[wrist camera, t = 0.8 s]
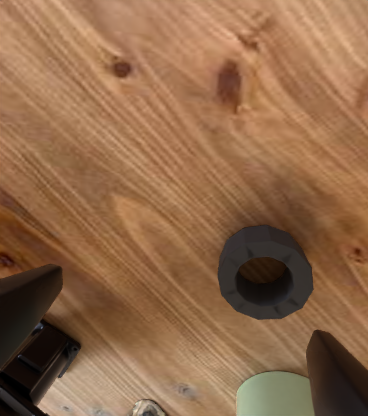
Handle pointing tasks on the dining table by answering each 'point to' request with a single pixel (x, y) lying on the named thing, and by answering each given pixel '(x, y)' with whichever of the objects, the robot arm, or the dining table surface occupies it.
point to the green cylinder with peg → (275, 395)
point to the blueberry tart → (147, 409)
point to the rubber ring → (269, 292)
